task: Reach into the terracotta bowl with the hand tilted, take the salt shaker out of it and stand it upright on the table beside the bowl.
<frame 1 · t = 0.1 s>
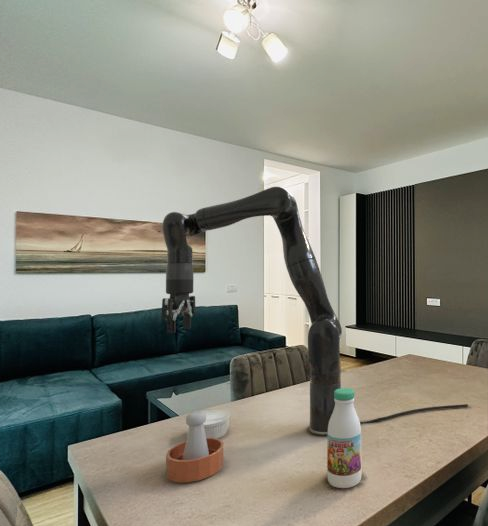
hand: (179, 331, 114), 29 cm above the table, tool pointing down, fingers open, 8 cm apart
salt shaker: (195, 468, 89), resting on bowl
milk bottle: (344, 480, 84), on the table
ramekin: (209, 435, 108), on the table
bowl: (195, 469, 89), on the table
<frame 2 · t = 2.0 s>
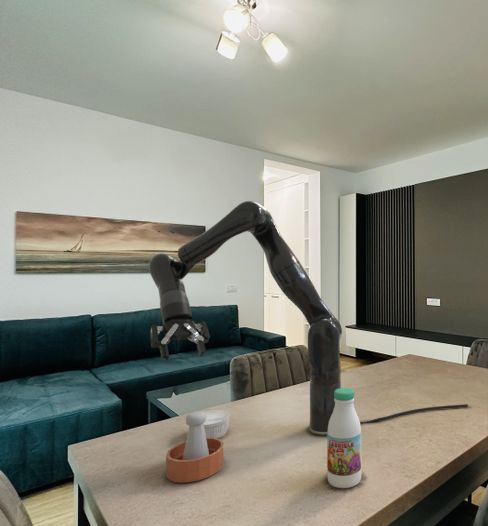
hand: (184, 356, 99), 25 cm above the table, tool tilted 45°, fingers open, 8 cm apart
nothing on the table moved.
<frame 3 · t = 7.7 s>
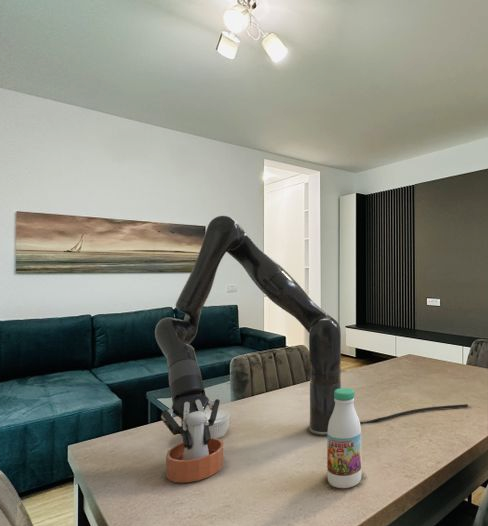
hand: (198, 445, 87), 6 cm above the table, tool tilted 45°, fingers closed on salt shaker, 3 cm apart
salt shaker: (195, 468, 89), resting on bowl, touching gripper
everything else where it was.
when the fingers open (6 cm above the table, at t = 17.1 s): salt shaker stays where it is, on the table.
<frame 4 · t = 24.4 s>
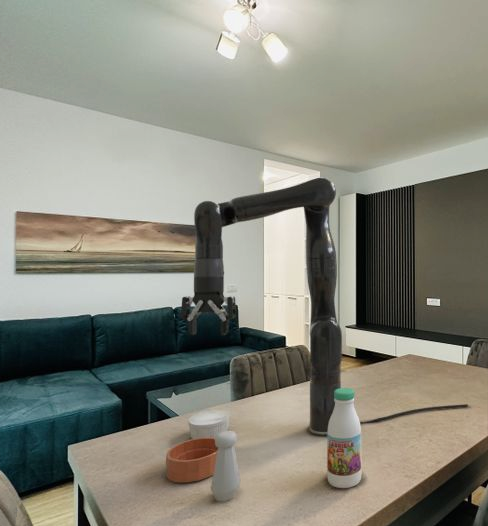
hand: (208, 334, 102), 30 cm above the table, tool pointing down, fingers open, 8 cm apart
salt shaker: (225, 496, 78), on the table
everything else where it was.
at the end: salt shaker inside the target area (0.3 cm from its centre), on the table; salt shaker tilted 0°; the gripper is holding nothing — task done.
